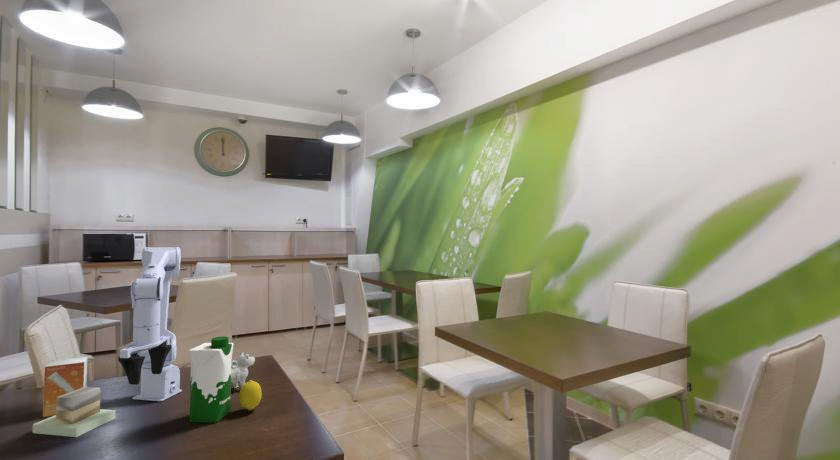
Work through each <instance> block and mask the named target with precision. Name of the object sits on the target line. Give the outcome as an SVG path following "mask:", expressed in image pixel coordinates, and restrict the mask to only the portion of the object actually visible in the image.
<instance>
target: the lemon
mask: <svg viewBox="0 0 840 460" xmlns="http://www.w3.org/2000/svg"><path fill="white" fill-rule="evenodd" d="M262 393H263V392H262V387H261V385H260V384H259V383H258V382H257V381H255V380H254V381H253V380H252V379H250V380H248V381H247V382H245V384H244V385H243V386H242V388H241V387H240V391H239V395H238V396H239V397H238V399H239V404H240V405H241V407H242V408H243V409H244V410H245V409H246V410H248V411H252V410H253V409H254V408H256V407H257V406H258V405H259V404H260V403H261V400H262V396H263V395H262Z"/></svg>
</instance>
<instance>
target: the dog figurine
mask: <svg viewBox="0 0 840 460" xmlns="http://www.w3.org/2000/svg"><path fill="white" fill-rule="evenodd" d="M255 362H256V358H255V356H250V354H249V353H246V354H245V352H241V353H240V354H239V356H237V358H236V359H235V360H234V359H233V360H232V359H231V384H233V389H235V388H236V389H238V388H237V387H239V386H240V389H241V388H242V386H243V385H244V384H245V383H246V379H247V377H248V375H249V369H248V368H249V367H251V366H253V365H254V363H255Z"/></svg>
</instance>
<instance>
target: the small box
mask: <svg viewBox="0 0 840 460" xmlns="http://www.w3.org/2000/svg"><path fill="white" fill-rule="evenodd" d="M88 360H89V359H88V356H80V357H79V356H78V357H70V358H63V359H55V360H49V361H48V362H47V364H46V365H45V366H44V374H43V375H44V377H43V378H44V379H43V380H44V381H43V400H42V401H43V402H42V404H43V405H42V418H48V417H52V416H55V415H56V400H57V397H59V396H61V395H64V394H67V393H70V392H72V391H75V390H78V389H80V388H83V387H88Z"/></svg>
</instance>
